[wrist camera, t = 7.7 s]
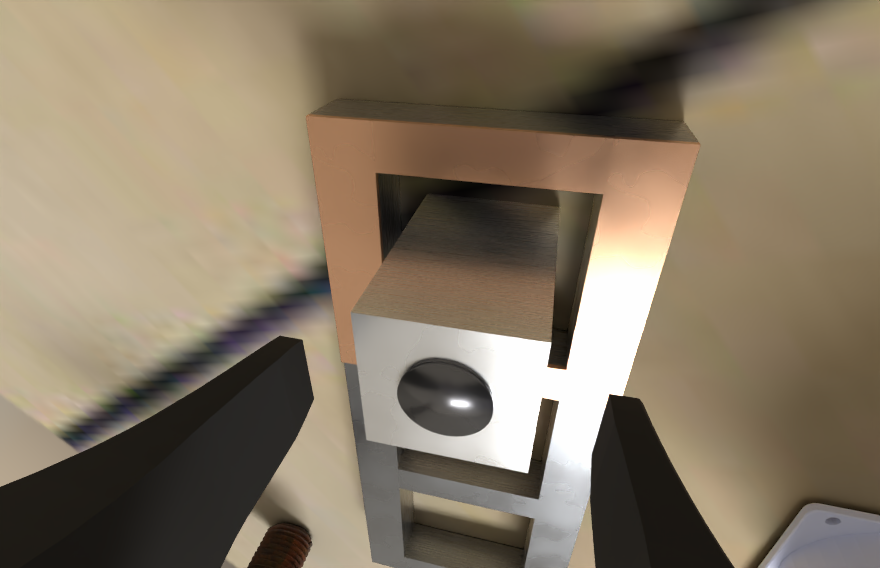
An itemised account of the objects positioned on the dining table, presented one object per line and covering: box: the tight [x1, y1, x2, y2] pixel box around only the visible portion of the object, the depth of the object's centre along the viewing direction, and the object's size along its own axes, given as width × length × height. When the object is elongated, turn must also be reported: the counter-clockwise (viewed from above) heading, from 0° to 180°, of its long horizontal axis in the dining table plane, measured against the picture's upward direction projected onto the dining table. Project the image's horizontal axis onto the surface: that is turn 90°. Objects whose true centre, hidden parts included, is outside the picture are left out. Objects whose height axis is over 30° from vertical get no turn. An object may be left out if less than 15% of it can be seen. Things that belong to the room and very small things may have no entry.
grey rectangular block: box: [351, 194, 560, 473], centre depth 14 cm, size 4×4×7 cm
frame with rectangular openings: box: [306, 99, 700, 568], centre depth 21 cm, size 10×26×2 cm, turn 0°
